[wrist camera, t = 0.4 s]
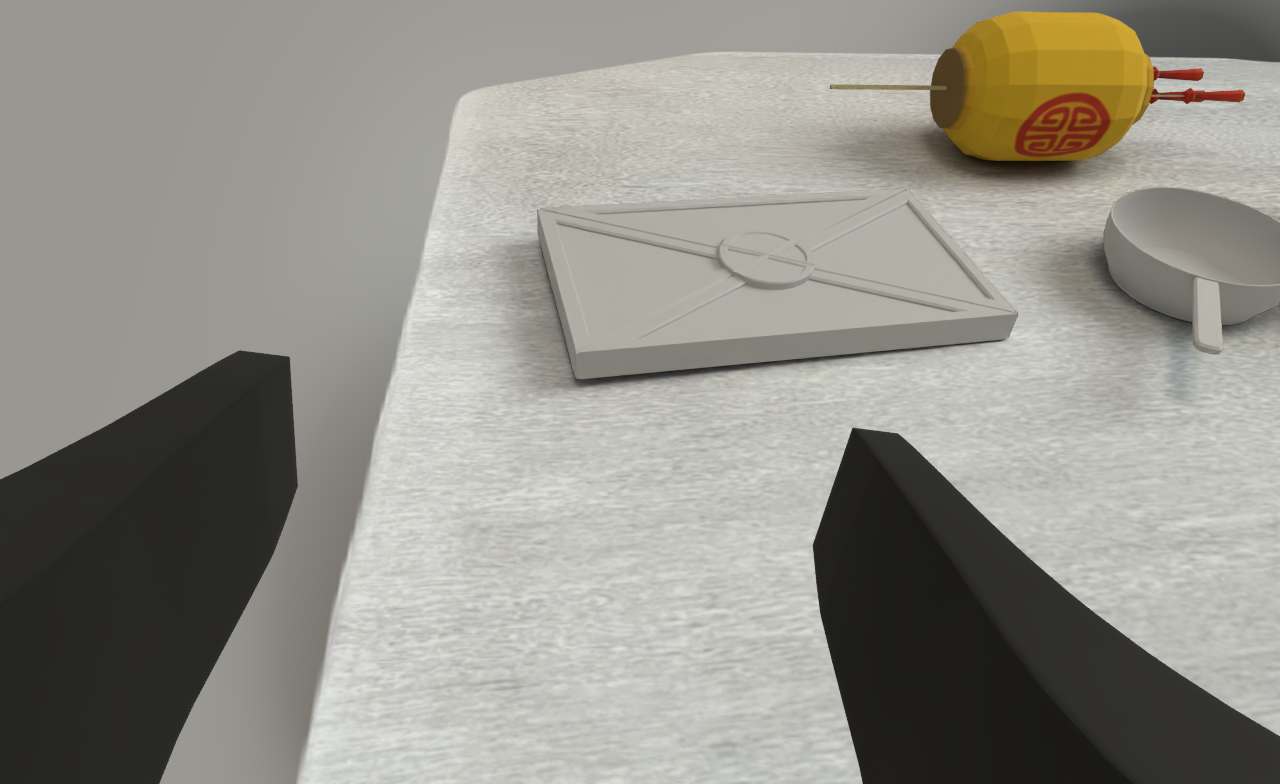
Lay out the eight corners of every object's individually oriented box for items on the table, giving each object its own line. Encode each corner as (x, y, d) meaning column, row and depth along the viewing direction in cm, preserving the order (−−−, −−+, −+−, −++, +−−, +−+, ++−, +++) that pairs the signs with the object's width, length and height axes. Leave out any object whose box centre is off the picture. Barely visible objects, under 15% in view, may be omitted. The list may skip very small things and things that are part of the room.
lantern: (1244, -14, 64) (833, -21, 61) (1315, 71, 59) (866, 68, 56) (1167, 104, 72) (801, 103, 69) (1223, 188, 67) (827, 192, 64)
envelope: (1006, 342, 50) (900, 214, 60) (1020, 310, 48) (908, 184, 58) (575, 383, 45) (537, 236, 55) (576, 348, 44) (537, 204, 53)
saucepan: (1276, 264, 57) (1309, 210, 55) (1292, 441, 45) (1335, 382, 42) (1097, 219, 60) (1120, 166, 58) (1066, 372, 48) (1093, 313, 45)
